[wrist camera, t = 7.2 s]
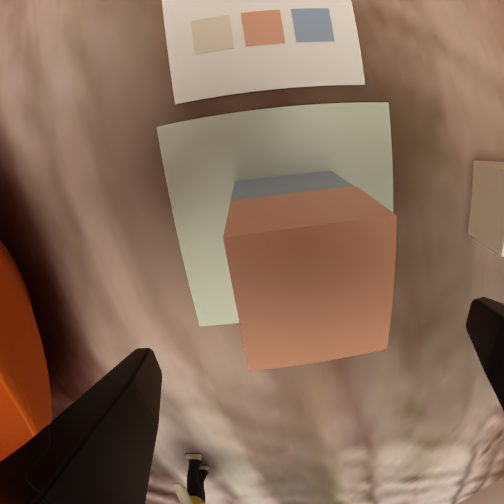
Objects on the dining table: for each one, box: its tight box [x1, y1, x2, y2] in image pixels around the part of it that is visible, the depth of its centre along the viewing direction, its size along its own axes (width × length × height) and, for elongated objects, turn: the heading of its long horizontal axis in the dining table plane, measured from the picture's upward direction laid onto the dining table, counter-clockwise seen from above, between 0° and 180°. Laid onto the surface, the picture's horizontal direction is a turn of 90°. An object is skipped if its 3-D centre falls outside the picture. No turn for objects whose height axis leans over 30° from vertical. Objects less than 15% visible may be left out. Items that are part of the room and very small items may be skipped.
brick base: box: [231, 171, 353, 201], centre depth 15 cm, size 5×5×4 cm
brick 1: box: [223, 186, 397, 371], centre depth 12 cm, size 5×5×4 cm
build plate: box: [157, 102, 393, 326], centre depth 17 cm, size 12×12×1 cm
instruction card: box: [162, 0, 365, 104], centre depth 14 cm, size 10×7×1 cm
